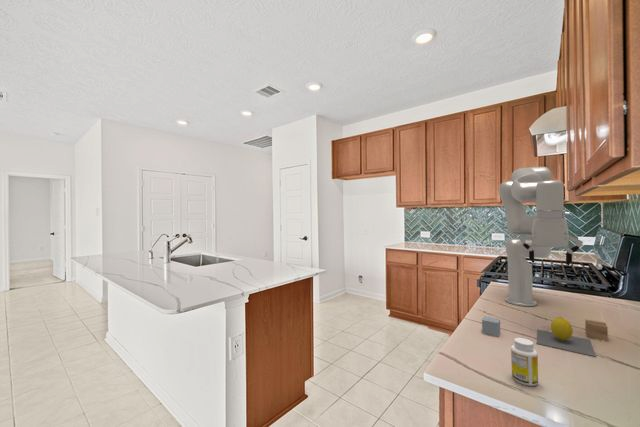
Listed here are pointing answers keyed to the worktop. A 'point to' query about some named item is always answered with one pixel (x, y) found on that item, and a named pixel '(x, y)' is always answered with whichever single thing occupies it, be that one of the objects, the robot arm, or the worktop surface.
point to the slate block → (491, 326)
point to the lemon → (561, 328)
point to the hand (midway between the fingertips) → (549, 263)
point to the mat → (565, 343)
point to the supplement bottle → (524, 362)
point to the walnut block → (596, 330)
